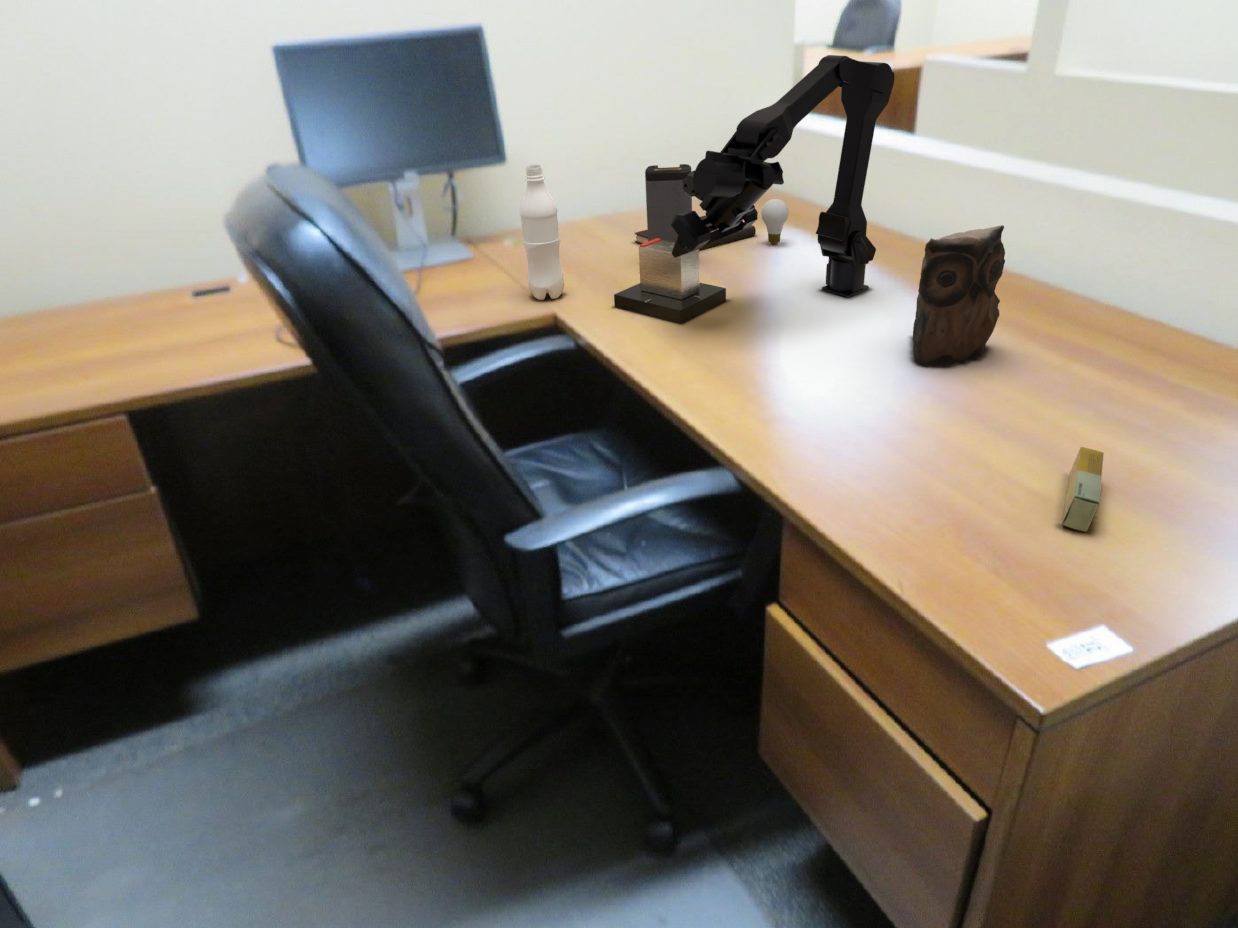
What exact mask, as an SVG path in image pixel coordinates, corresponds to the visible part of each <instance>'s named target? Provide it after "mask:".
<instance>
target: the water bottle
mask: <svg viewBox="0 0 1238 928" xmlns="http://www.w3.org/2000/svg"><path fill="white" fill-rule="evenodd" d="M525 172H526V175H525V182H526V189H525V192H524V195H523V198H522V200H521V203H520V206H519V216H520V221H521V230H522V245H523V247H524V250H525V254H526V259H527V286H528V289H529V292H530V293H531V295H532V296H533V297H534V298H535V299H537V301H544V300H545V299H546V297H547V294H548V296H549V297H550V299H551V300H555V299H558V298H559V297H560V296H561V295H562V293H563V291H564V288H565V276H564V272H563V269H562V264H561V258H560V257H561V256H560V245H561V236H560V229H559V219H558V207H557V204H556V202H555V200H554V199H553V197H552V195H551V194H550V192H549V191H548V188H547V187H546V185H545V176H544V173H543V166H542V165H541V164H531V165H527V166H525Z"/></svg>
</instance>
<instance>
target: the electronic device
mask: <svg viewBox="0 0 1238 928" xmlns="http://www.w3.org/2000/svg"><path fill="white" fill-rule="evenodd" d="M690 172H692V166H691V165H689V164H687V163H680V164H679V166H671V167H659V165H658V164H657V165H655V164H653V165H649V166H647V167H646V168H645V170H644V178H645V179H644V181H645V182H644V183H645V204H646V224H647V227H646V230H648V242H649V241H651V240H654V239H656V238H659V239H661V240H664V241H669V242H676V239H677V236H678V234H677V233H676V231H675V230H674V229H673V227H672V226H671V221H672V220H673V219H674V218H675V216H676V215H677V214H680V213H683V212H685V211H688V210H692V211H693V197H692V196H690V195H689V194H688V193H686V192H685V191H684V190H683V179H685V178H686V177H687V175H688V174H690Z"/></svg>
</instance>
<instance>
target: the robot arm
mask: <svg viewBox="0 0 1238 928" xmlns="http://www.w3.org/2000/svg"><path fill="white" fill-rule="evenodd" d="M894 84H895V72H894V71H893V69H892V66H890V64H889V63H887V62H878V61H863V60H857V59H854V58H851V57H849V56H848V55H835V54H828V55H827V54H826V55H825V56H823V57H822V58H821V59H820V60H819V61H818V63H817V65H816V66H815V67H814V68H812V70H810V71H809V72H808V73H807V74H806V75H805V76H804V77H803V78H801V79H800V80H799V81H798V82H797V83H796V84H795V85H793V87H791V88H790V89H789V90H788V91H787V92H786V93H784V95H783V96H781V97H780V98H779V99H778V100H777V101H776V102H774V103H772V104H770V105H769V106H765V107H764V108H761V109H757V110H755V111H754V112H752V113H751V114H749V115H748V116H746V117H744V118H743V119H742V120H741V121H739V123H738V125H737V126H736V129H735V131H734V133H733V134H732V135H731V137H730V139H729V140H728V141H727V142H726V144H725V145H724V146H723V148H722V149H721V150H720V152H719V151H713V150H706V151H705V157H704V158H703V159H701V160H700V161H699V162H698V163H697V166H696V167H695V170H691V172H690V174H688V175H687V177H686V178H685V179H683V190H684V191H685V192H686V193H688V194H689V195H690V196H692V198H696V199H698V200H699V201H701V202H700V203H699V207H700V209H701V210H702V211H705V215H706V217H707V218H706V219H703V220H701V218H700V217H701V216H699V214H698V213H697V211H696V210H693V209H692V210H688V211H685V212H683V213H680V214H677V215H676V216H675V218H674V219H673V220H672V221H671V226H672V227H673V229H674V230H675V231H676V233H677V234H678V236H677V239H676V242H675V245H674V247H673V250H672V255H673V256H674V258H676V257H679V256H681V255H684V254H687V253H689V252H692V251H695V250H697V249H700V248H702V247H703V246H704V245H705V244H709V243H711V242H714V241H716V240H719V239H721V238H724V237H726V236H729V235H731V234H734V233H736V232H739V231H741V230H743V229H745V228H747V227H749V226H751V225H753V224H754V223H756V221H758V215H759V214H758V213H759V212H758V210H757V208H756V206H755V204H756V203H757V202H758V201H759V200H760V199H761V198H762V197H763V196H764V195H765V194H766V193H767V192H768V191H769V189H770V188H772V186H773V185H781V186H782V185H784V184H785V181H784V175H783V174H784V171H783V168H782V166H781V163H780V162H779V161H775V162H768V161H767V160H768V159H774V158H775V157H777V156H779V154H780V153H781V152H782V151H783V149H784V148H785V147H786V146H787V145H788V143H789V142H790V141H791V140H792V137H793V132H794V130H795V128H796V126H797V125H798V124H799V123H801V121H802V120H804V118H805V117H807V116H808V115H809V114H810V113H811V112H812V111H813V110H814V109H816V108H817V107H818V106H819V105H820V104H821V103H822V102H824V101H825V99H826V98H828V97H829V96H830V95H831V94H832V93H833V92H834V91H835V90H837V88H840V101H841V105H842V107H843V110H844V113H845V116H846V121H845V126H844V133H843V139H842V140H843V141H842V146H841V152H840V158H839V165H838V170H837V178H836V182H835V189H834V195H833V201H832V203H831V204H830V206H829V207H828V209H827V210H826V211H820V213H819V215H818V225H817V229H816V231H815V234H816V235H817V243H818V244H819V246H820V251H821V255H822V256H823V257H827V258H828V262H827V263H826V267H825V268H826V269H825V270H826V272H825V285H824V286H822V287H821V291H824V292H827V293H831V294H835V295H838V296H841V297H846V298H851V297H853V296H854V295H857V294H860V293H862V292H865V291H866V290H869V285H866V284H865V278H866V277H865V275H866V266H867V265H868V264H869V263H870V262H872V261H873V260H874V258H875V254H876V252H877V248H876V246H874V244H873V243H872V241H871V240H870V239H869V238H868V236H867V231H868V230H867V228H868V227H867V226H868V221H867V217H866V215H865V211H864V208H863V206H862V205H863V204H862V203H863V197H864V192H865V186H866V181H867V174H868V168H869V162H870V159H871V158H870V157H871V151H872V146H873V139H874V136H875V135H874V134H875V128H876V122H877V119H879V117H880V115H881V114H882V112H883V111H884V110H885V109H886V107H887V106H888V104H889V102H890V100H891V99H890V98H891V95H892V91H893V88H894Z"/></svg>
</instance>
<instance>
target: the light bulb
mask: <svg viewBox="0 0 1238 928" xmlns="http://www.w3.org/2000/svg"><path fill="white" fill-rule="evenodd" d="M789 214H790V213H789V207H788V205H787V203H786V202H785V201H784V200H782V199H779V198H773V199H769V200H768V201H767V202H765V203H764V204H763V206H762V208H761V214H760V215H761V219H762V221H763V223H764V225H765V228H766V231H767V242H768V243H769V244H771V246H776V245H777V244H778V243H780V242H781V234H782V231H783V228H784V225H785V223H786V222H787V220H788V218H789Z"/></svg>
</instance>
